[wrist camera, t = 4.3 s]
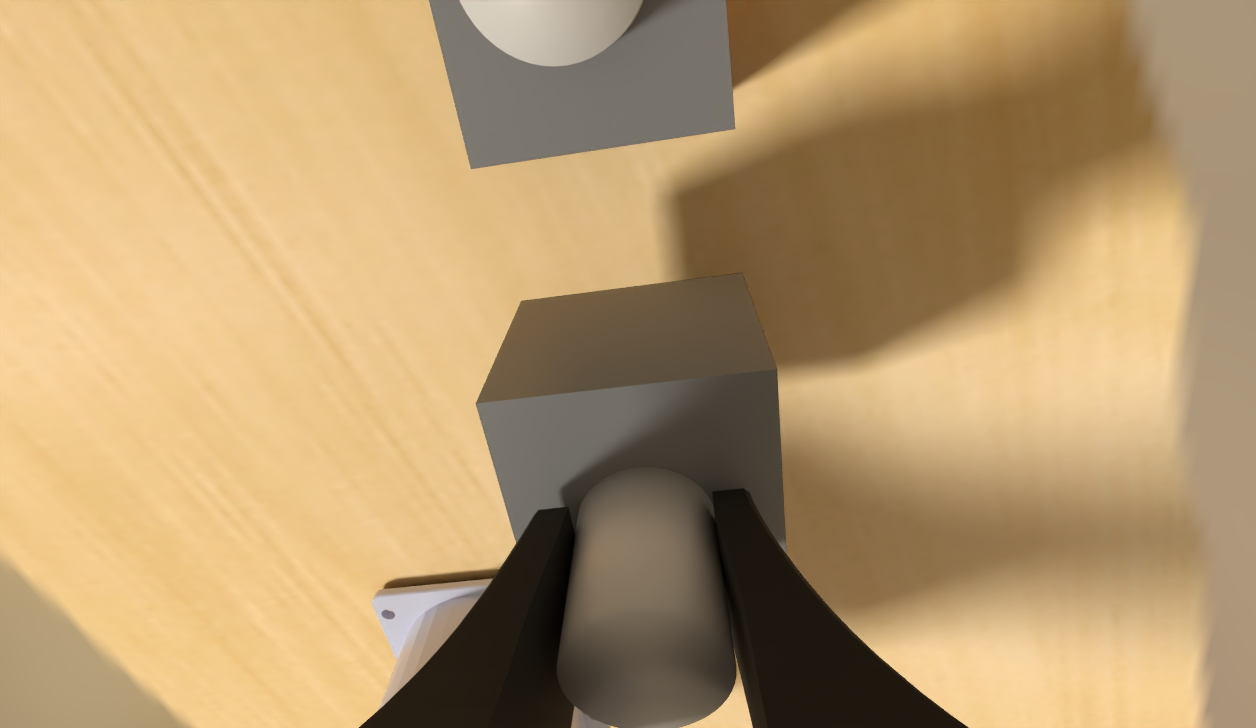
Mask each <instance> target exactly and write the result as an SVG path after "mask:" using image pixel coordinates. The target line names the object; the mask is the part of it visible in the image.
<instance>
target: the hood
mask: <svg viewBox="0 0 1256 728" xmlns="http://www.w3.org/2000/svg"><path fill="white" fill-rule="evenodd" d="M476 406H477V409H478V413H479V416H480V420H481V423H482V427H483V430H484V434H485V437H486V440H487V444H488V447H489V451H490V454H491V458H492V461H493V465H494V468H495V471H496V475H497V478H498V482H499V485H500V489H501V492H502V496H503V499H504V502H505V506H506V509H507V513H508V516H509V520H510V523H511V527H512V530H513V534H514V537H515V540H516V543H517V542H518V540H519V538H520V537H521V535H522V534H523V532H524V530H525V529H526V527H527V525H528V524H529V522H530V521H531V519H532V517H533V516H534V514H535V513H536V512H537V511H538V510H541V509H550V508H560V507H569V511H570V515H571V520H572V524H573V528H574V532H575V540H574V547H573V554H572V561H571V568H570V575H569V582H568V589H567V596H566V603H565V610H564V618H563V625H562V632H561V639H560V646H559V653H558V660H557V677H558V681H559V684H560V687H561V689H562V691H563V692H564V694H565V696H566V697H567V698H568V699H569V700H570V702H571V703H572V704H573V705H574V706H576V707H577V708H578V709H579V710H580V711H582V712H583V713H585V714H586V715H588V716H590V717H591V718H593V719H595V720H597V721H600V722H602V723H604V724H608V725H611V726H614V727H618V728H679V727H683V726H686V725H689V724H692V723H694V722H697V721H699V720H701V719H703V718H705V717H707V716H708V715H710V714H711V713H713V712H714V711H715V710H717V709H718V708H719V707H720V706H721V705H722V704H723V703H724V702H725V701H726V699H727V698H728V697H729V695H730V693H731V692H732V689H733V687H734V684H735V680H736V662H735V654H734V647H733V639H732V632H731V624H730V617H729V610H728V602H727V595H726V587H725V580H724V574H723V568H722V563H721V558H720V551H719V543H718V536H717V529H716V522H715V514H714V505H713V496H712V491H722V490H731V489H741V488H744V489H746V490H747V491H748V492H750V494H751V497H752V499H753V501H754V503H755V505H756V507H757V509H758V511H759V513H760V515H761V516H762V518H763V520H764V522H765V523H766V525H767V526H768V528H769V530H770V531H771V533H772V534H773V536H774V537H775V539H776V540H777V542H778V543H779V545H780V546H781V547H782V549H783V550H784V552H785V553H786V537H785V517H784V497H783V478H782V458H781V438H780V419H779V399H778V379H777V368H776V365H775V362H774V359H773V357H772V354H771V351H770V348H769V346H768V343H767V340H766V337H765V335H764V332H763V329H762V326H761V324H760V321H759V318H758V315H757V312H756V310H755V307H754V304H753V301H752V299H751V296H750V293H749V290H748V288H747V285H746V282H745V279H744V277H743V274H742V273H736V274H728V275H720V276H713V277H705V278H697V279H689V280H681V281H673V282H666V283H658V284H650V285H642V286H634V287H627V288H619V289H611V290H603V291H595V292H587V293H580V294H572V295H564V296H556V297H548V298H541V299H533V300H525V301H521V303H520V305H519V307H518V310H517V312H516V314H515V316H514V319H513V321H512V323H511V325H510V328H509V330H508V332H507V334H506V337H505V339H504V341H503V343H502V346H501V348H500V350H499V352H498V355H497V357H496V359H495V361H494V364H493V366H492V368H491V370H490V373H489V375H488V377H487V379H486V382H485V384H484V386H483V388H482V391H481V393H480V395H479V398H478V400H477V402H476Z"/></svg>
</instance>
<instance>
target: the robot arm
mask: <svg viewBox="0 0 1256 728" xmlns="http://www.w3.org/2000/svg"><path fill="white" fill-rule="evenodd" d="M712 496H713V505H714V514H715V522H716V529H717V536H718V543H719V551H720V558H721V563H722V568H723V574H724V580H725V587H726V595H727V602H728V610H729V617H730V624H731V632H732V639H733V645H734V649H735V653H736V658H737V662H738V666H739V670H740V674H741V679H742V683H743V687H744V691H745V696H746V700H747V704H748V708H749V712H750V717H751V721H752V725H753V728H968V727H967V726H966V725H964V724H963V723H961V722H960V721H958V720H957V719H956V718H954V717H953V716H951V715H950V714H949V713H948V712H946V711H945V710H944V709H942V708H941V707H940V706H938V705H937V704H936V703H934V702H933V701H932V700H930V699H929V698H928V697H927V696H925V695H924V694H923V693H921V692H920V691H919V690H918V689H916V688H915V687H914V686H913V685H912V684H911V683H909V682H908V681H907V680H906V679H905V678H904V677H902V676H901V675H900V674H899V673H898V672H896V671H895V670H894V669H893V668H892V667H891V666H889V665H888V664H887V663H886V662H885V661H883V660H882V659H881V658H880V657H879V656H878V655H877V654H875V653H874V652H873V651H872V650H871V649H870V648H869V647H868V646H867V645H866V644H865V643H864V642H863V641H862V640H861V639H860V638H859V637H858V636H857V635H855V634H854V633H853V632H852V630H851V629H850V628H849V627H848V626H847V625H846V624H845V623H844V622H843V621H842V620H841V619H840V618H839V617H838V616H837V615H836V614H835V613H834V612H833V611H832V610H831V609H830V607H829V606H828V605H827V604H826V603H825V602H824V601H823V600H822V598H821V597H820V596H819V595H818V594H817V593H816V591H815V590H814V589H813V588H812V587H811V585H810V584H809V583H808V582H807V581H806V579H805V578H804V577H803V576H802V574H801V573H800V572H799V570H798V569H797V568H796V567H795V565H794V564H793V563H792V561H791V560H790V558H789V557H788V556H787V554H786V553H785V552H784V550H783V549H782V547H781V546H780V545H779V543H778V542H777V540H776V539H775V537H774V536H773V534H772V533H771V531H770V530H769V528H768V526H767V525H766V523H765V522H764V520H763V518H762V516H761V515H760V513H759V511H758V509H757V507H756V505H755V503H754V501H753V499H752V497H751V494H750V492H748V491H747V490H746V489H744V488H741V489H731V490H722V491H712ZM574 540H575V532H574V528H573V524H572V520H571V515H570V511H569V507H560V508H550V509H541V510H538V511H537V512H536V513H535V514H534V516H533V517H532V519H531V521H530V522H529V524H528V525H527V527H526V529H525V530H524V532H523V534H522V535H521V537H520V538H519V540H518V542H517V543H516V545H515V546H514V548H513V550H512V551H511V553H510V554H509V556H508V557H507V559H506V560H505V562H504V563H503V565H502V566H501V568H500V569H499V571H498V572H497V574H496V575H495V577H494V578H493V579H483V580H472V581H462V582H452V583H442V584H431V585H421V586H411V587H400V588H390V589H382V590H379V591H377V592H376V593H375V596H374V598H373V600H372V606H373V608H374V610H375V613H376V615H377V617H378V619H379V622H380V624H381V626H382V629H383V631H384V633H385V635H386V638H387V640H388V642H389V644H390V647H391V649H392V651H393V653H394V656H395V658H396V660H397V662H396V665H395V668H394V670H393V673H392V675H391V678H390V681H389V683H388V686H387V688H386V691H385V694H384V696H383V699H382V701H381V704H380V707H379V709H378V711H377V712H376V713H375V714H374V715H373V716H372V717H370V718H369V719H368V720H367V721H366V722H365V723H364V724H362V725H361V726H360V727H359V728H611V725H608V724H604V723H602V722H600V721H597V720H595V719H593V718H591V717H590V716H588V715H586V714H585V713H583V712H582V711H580V710H579V709H578V708H577V707H576V706H574V705H573V704H572V703H571V702H570V700H569V699H568V698H567V697H566V696H565V694H564V692H563V691H562V689H561V687H560V684H559V681H558V677H557V660H558V653H559V646H560V639H561V632H562V625H563V618H564V610H565V603H566V596H567V589H568V582H569V575H570V568H571V561H572V554H573V547H574ZM389 610H391V611H389Z"/></svg>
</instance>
